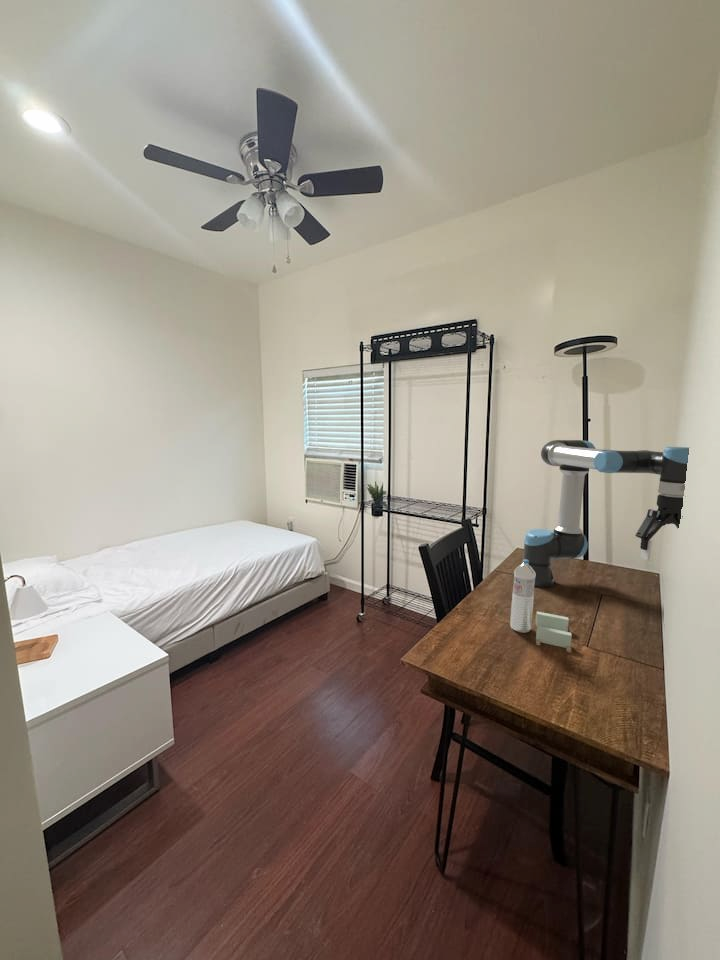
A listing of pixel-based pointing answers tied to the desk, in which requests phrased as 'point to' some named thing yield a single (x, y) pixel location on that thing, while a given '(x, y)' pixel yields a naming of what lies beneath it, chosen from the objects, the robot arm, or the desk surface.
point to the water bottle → (522, 598)
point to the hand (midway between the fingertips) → (663, 558)
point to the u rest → (553, 630)
